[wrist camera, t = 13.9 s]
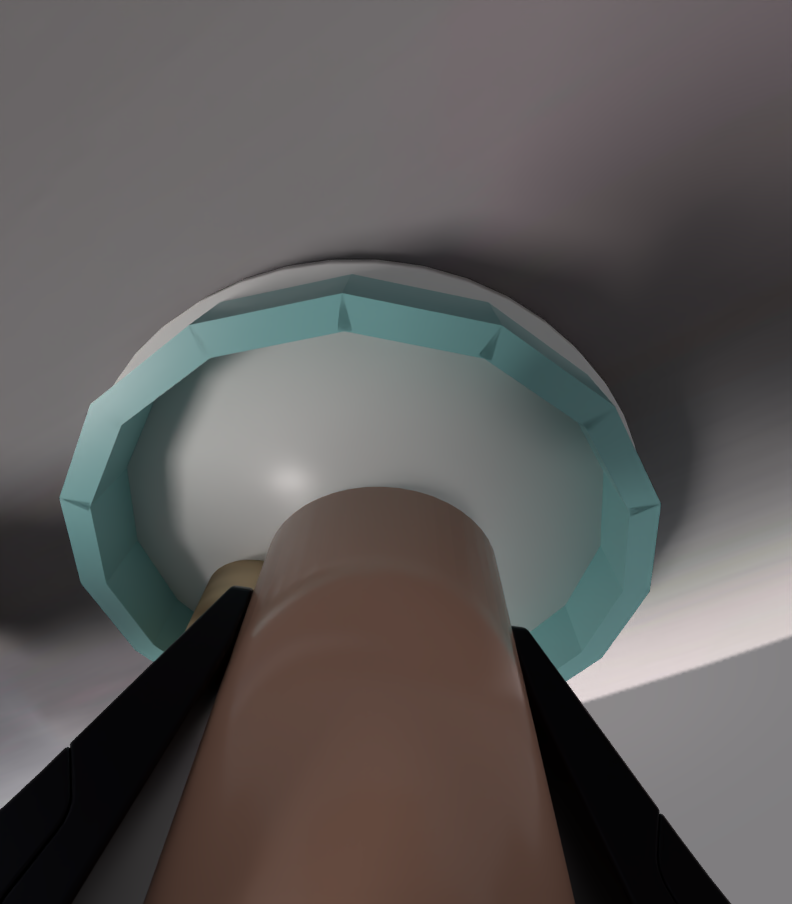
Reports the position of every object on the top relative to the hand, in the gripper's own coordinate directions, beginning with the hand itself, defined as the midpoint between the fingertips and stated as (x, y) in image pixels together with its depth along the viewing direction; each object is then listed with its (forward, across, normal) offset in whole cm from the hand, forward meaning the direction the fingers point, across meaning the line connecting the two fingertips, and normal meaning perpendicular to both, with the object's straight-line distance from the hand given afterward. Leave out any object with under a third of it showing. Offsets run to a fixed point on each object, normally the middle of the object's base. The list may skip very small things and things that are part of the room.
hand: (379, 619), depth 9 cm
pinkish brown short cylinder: (+1, 0, 0) cm, 1 cm away
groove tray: (+10, 0, +6) cm, 12 cm away
